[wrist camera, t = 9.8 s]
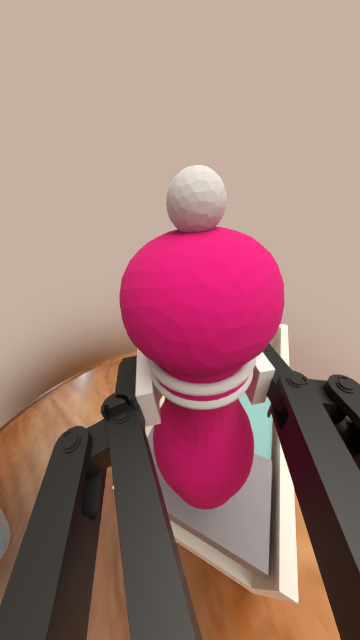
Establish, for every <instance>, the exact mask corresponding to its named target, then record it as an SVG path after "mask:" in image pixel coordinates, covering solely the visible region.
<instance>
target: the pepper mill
mask: <svg viewBox="0 0 360 640" xmlns="http://www.w3.org/2000/svg"><path fill="white" fill-rule="evenodd" d="M166 205H167V212H168V215H169V218H170V220H171V221H172V223H173V224H174V225H175V227H176V228H177V229H178V230H174V231H170V232H167V233H165V234H163V235H161V236H159V237H157V238H155V239H153V240H151V241H150V242H148V243H147V244H146V245H144V246H143V247H142V248H141V249H140V250H139V251H138V252H137V253H136V254H135V256H134V257H133V258H132V259H131V260H130V262H129V264H128V266H127V268H126V270H125V272H124V275H123V277H122V281H121V289H120V308H121V314H122V320H123V323H124V326H125V329H126V331H127V334H128V336H129V338H130V339H131V341H132V342H133V344H134V345H135V346H136V347H137V348H138V349H139V350H140V351H141V352H142V353H143V354H144V355H145V356H146V357H147V362H148V365H149V368H150V374H151V377H152V381H153V383H154V385H155V386H156V388H157V389H158V390H159V391H160V393H161V394H162V395H163V396H165V400H164V402H163V404H162V406H161V408H160V416H161V424H157V425H154V431H153V447H154V454H155V459H156V463H157V466H158V469H159V471H160V473H161V475H162V477H163V478H164V480H165V481H166V483H167V484H168V485H169V486H170V487H171V488H172V489H173V491H174V492H176V493H177V494H178V495H179V496H180V497H181V499H182V500H184V501H185V502H186V503H187V504H189V505H191V506H193V507H196V508H199V509H204V510H207V509H214V508H217V507H219V506H222V505H223V504H224V503H226V502H227V501H228V500H229V499H230V498H231V497H232V496H234V495H235V494H236V493H237V492H238V491H239V490H240V489H241V488H242V486H243V485H244V484H245V482H246V480H247V478H248V476H249V474H250V471H251V468H252V464H253V457H254V436H253V431H252V428H251V424H250V420H249V417H248V415H247V413H246V411H245V409H244V407H243V406H242V404H241V402H240V401H239V397H241V396H242V395H243V394H244V393H245V391H246V390H247V389H248V387H249V385H250V383H251V381H252V377H253V369H254V367H255V363H256V357H257V356H258V355H260V354H261V353H262V351H263V350H264V349H265V348H266V347H267V345H268V344H269V343H270V341H271V340H272V339H273V337H274V336H275V335H276V333H277V330H278V328H279V325H280V323H281V319H282V314H283V308H284V283H283V279H282V276H281V273H280V270H279V267H278V264H277V263H276V261H275V259H274V258H273V256H272V254H271V253H270V252H269V251H268V250H267V249H265V248H264V247H263V246H262V245H261V244H260V243H259V242H257V241H256V240H255V239H253V238H252V237H250V236H248V235H245V234H243V233H240V232H238V231H235V230H231V229H227V228H223V227H215V226H216V225H217V224H218V223H219V222H220V220H221V219H222V216H223V214H224V211H225V208H226V191H225V188H224V185H223V182H222V180H221V178H220V177H219V175H218V174H217V173H216V172H215V171H213V170H212V169H210V168H208V167H206V166H202V165H196V166H190V167H187V168H185V169H184V170H182V171H181V172H179V173H178V174H177V175H176V176H175V177H174V179H173V181H172V182H171V184H170V186H169V189H168V192H167V202H166Z"/></svg>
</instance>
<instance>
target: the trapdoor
mask: <svg viewBox="0 0 360 640" xmlns="http://www.w3.org/2000/svg"><path fill="white" fill-rule="evenodd" d="M239 401H240V402H241V404H242V406H243V407H244V409H245V411H246V413H247V415H248V417H249V420H250V424H251V428H252V431H253V436H254V457H253V464H252V468H251V471H250V474H249V476H248V478H247V480H246V482H245V484H244V485H243V486H242V488H241V489H240V490H239V491H238V492H237V493H236V494H235V495H234V496H232V497H231V498H230V499H229V500H228V501H227V502H226V503H224V504H223V505H222V506H219V507H217V508H214V509H207V510H204V509H199V508H196V507H193V506H191V505H189V504H187V503H186V502H185V501H184V500H182V499H181V497H180V496H179V495H178V494H177V493H176V492H174V491H173V489H172V488H171V487H170V486H169V485H168V484H167V483H166V481H165V480H164V478H163V477H162V475H161V473H160V471H159V469H158V466H157V463H156V459H155V454H154V447H153V431H154V426H153V428H152V429H151V431H150V433H149V435H148V437H147V439H148V442H149V446H150V450H151V453H152V457H153V461H154V464H155V468H156V472H157V476H158V479H159V483H160V487H161V490H162V494H163V498H164V501H165V505H166V509H167V512H168V516H169V520H171V521H172V522H174V523H175V524H177V525H179V526H180V527H182V528H183V529H185V530H186V531H188V532H190V533H191V534H193V535H194V536H196V537H197V538H199V539H201V540H202V541H204V542H205V543H207V544H209V545H210V546H212V547H213V548H215V549H216V550H218V551H220V552H221V553H223V554H224V555H226V556H227V557H229V558H231V559H232V560H234V561H235V562H237V563H238V564H240V565H242V566H243V567H245V568H246V569H248V570H249V571H251V572H253V573H254V574H256V575H257V576H265V575H268V569H269V540H270V511H271V482H272V461H271V446H272V421H273V418H272V414H271V415H270V418H267V412H268V409H269V407H270V404H271V402H270V401H269V399H268V397H266V400H265V402H264V403H259V404H254V405H251V403H250V401H249V399H248V397H247V395H246V393H244V394H243V395H242V396H241V397H239Z"/></svg>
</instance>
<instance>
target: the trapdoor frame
mask: <svg viewBox="0 0 360 640" xmlns="http://www.w3.org/2000/svg"><path fill="white" fill-rule="evenodd" d="M270 345H271V346H272V347H273V348H274V349H275V351H276V352H277V353H278V354H279V355H280V357H281V358H282V359H283V360H284V361H285V363H286V364H287V365H288V366H289V349H288V325H283V324H280V325H279V328H278V330H277V333H276V335H275V336H274V337H273V339H272V340H271V341H270ZM164 400H165V396H162V398H161V400H160V401H159V403H160V408H161V406H162V404H163V402H164ZM153 426H154V425H152V426H146V427H145V433H146V435H147V437H148V435H149V433H150V431H151V429H152V428H153ZM271 461H272V482H271V511H270V540H269V569H268V575H265V576H257V575H256V574H254V573H253V572H251V571H249V570H248V569H246V568H245V567H243V566H242V565H240V564H238V563H237V562H235V561H234V560H232V559H231V558H229V557H227V556H226V555H224V554H223V553H221V552H220V551H218V550H216V549H215V548H213V547H212V546H210V545H209V544H207V543H205V542H204V541H202V540H201V539H199V538H197V537H196V536H194V535H193V534H191V533H190V532H188V531H186V530H185V529H183V528H182V527H180V526H179V525H177V524H175V523H174V522H172V521H171V520H170V523H171V527H172V531H173V534H174V538H175V542H177V543H178V544H180V545H181V546H183V547H184V548H186V549H187V550H189V551H190V552H192V553H193V554H195V555H196V556H198V557H199V558H201V559H202V560H204V561H205V562H207V563H208V564H210V565H211V566H213V567H214V568H216V569H217V570H219V571H220V572H221V573H223V574H224V575H226V576H227V577H229V578H230V579H232V580H233V581H235V582H236V583H238V584H239V585H241V586H242V587H244V588H245V589H247V590H248V591H250V592H251V593H253V594H256V595H261V596H266V597H270V598H275V599H280V600H284V601H289V602H294V603H298V579H297V553H296V528H295V502H294V486H293V482H292V479H291V476H290V473H289V469H288V466H287V463H286V460H285V457H284V453H283V450H282V447H281V444H280V440H279V437H278V434H277V431H276V427H275V424H274V421H272V446H271ZM112 488H113V490H114V485H113V487H112Z"/></svg>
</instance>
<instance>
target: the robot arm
mask: <svg viewBox="0 0 360 640" xmlns="http://www.w3.org/2000/svg"><path fill="white" fill-rule="evenodd" d="M245 393H246V395H247V397H248V399H249V401H250V403H251V405H254V404H259V403H264V402H265V400H266V397H268V399H269V401H270V402H271V404H270V407H269V409H268V412H267V418H270V415H271V414H272V418H273V421H274V424H275V427H276V431H277V434H278V437H279V440H280V444H281V447H282V450H283V453H284V457H285V460H286V463H287V466H288V469H289V473H290V476H291V479H292V482H293V486H294V489H295V492H296V495H297V499H298V502H299V505H300V508H301V512H302V515H303V518H304V521H305V524H306V528H307V531H308V534H309V537H310V541H311V544H312V547H313V550H314V554H315V557H316V560H317V563H318V567H319V570H320V573H321V576H322V579H323V583H324V586H325V589H326V592H327V596H328V599H329V602H330V605H331V609H332V612H333V615H334V618H335V622H336V625H337V628H338V631H339V635H340V638H341V640H360V385H359V384H358V383H357V382H356V381H354V380H353V379H351V378H349V377H346V376H343V375H332V376H330V377H329V379H328V380H327V381H323V380H313V379H307V377H305V376H304V375H302V374H301V373H298V372H296V371H292V370H291V369H290V367H289V366H288V365H287V364H286V363H285V361H284V360H283V359H282V358H281V357H280V355H279V354H278V353H277V352H276V351H275V349H274V348H273V347H272V346H271V345H270V343H269V344H268V345H267V347H266V348H265V349H264V350H263V351H262V353H261V354H260V355H258V356H257V357H256V363H255V367H254V369H253V377H252V381H251V383H250V385H249V387H248V389H247V390H246V391H245ZM101 414H102V415H103V417H104V419H103V420H101V421H100V422H98V423H96V424H94V425H92V426H90V427H88V428H84V427H82V426H75V427H73V428H70V429H68V430H67V431H66V432H64V433H63V434H62V435H61V436H60V437H59V439H58V440H57V442H56V444H55V446H54V449H53V452H52V455H51V458H50V460H49V463H48V466H47V469H46V472H45V475H44V478H43V481H42V484H41V487H40V490H39V493H38V496H37V499H36V502H35V505H34V508H33V511H32V514H31V517H30V520H29V523H28V526H27V529H26V532H25V535H24V537H23V540H22V543H21V546H20V549H19V552H18V555H17V558H16V561H15V564H14V567H13V570H12V573H11V576H10V579H9V582H8V585H7V588H6V591H5V594H4V597H3V600H2V603H1V606H0V640H86V636H87V628H88V620H89V611H90V603H91V595H92V587H93V578H94V570H95V562H96V553H97V545H98V537H99V528H100V520H101V512H102V504H103V495H104V487H105V479H106V470H107V468H108V467H110V466H112V475H113V484H114V493H115V502H116V511H117V520H118V529H119V538H120V547H121V557H122V566H123V575H124V584H125V593H126V602H127V611H128V620H129V629H130V638H131V640H202V637H201V633H200V630H199V626H198V622H197V619H196V615H195V611H194V608H193V604H192V600H191V597H190V593H189V589H188V586H187V582H186V578H185V575H184V571H183V567H182V564H181V560H180V556H179V553H178V549H177V545H176V542H175V538H174V534H173V531H172V527H171V523H170V520H169V516H168V512H167V509H166V505H165V501H164V498H163V494H162V490H161V487H160V483H159V479H158V476H157V472H156V468H155V464H154V461H153V457H152V453H151V450H150V446H149V442H148V439H147V435H146V433H145V424H146V426H152V425H157V424H161V416H160V403H159V391H158V389H157V388H156V386H155V385H154V383H153V381H152V377H151V374H150V368H149V365H148V362H147V357H146V356H145V355H144V354H143V353H142V352H141V351H140V350H139V349H138V348H137V356H134V357H128V358H123V360H122V361H121V363H120V364H119V368H118V375H117V382H116V389H115V393H114V394H112V395H110V396H109V397H108V398H107V399H106V400H105V401H104V403H103V404H102V406H101ZM346 416H348V418H349V419H350V420H349V419H348V418H347V417H346ZM10 538H11V532H10V527H9V524H8V522H7V519H6V517H5V515H4V513H3V512H2V510H1V508H0V559H1V558H2V557H3V555H4V554H5V552H6V550H7V548H8V546H9V543H10Z"/></svg>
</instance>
